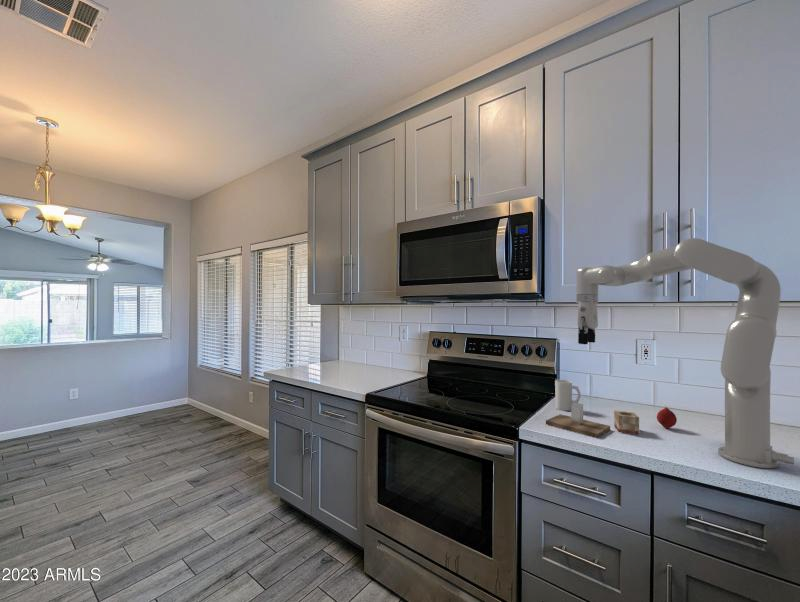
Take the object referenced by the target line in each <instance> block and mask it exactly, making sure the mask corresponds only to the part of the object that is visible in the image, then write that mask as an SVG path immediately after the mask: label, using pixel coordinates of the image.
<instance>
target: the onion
mask: <svg viewBox="0 0 800 602" xmlns="http://www.w3.org/2000/svg"><path fill="white" fill-rule="evenodd" d="M656 419H657V422H658V423H659V424H660V425H661V426H662V427H663V428H664V429H666V430H667V429H670V428H672V427H674V426H675V425H676V424H677V421H678V418H677V415H676V414H675V413H674V412H673V411H672V410H670V409H669V407H667V406H664V407H663V409H660V410H659V411H658V413H657V414H656Z"/></svg>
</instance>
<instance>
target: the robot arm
mask: <svg viewBox="0 0 800 602" xmlns="http://www.w3.org/2000/svg"><path fill="white" fill-rule="evenodd" d="M688 270H696V271H699V272H701V273H704V274H706V275H709V276H711V277H713V278H716V279H718V280H721V281H724V282H725V283H728V284H733V285H735V286H737V288H738V290H739V294H738V299H737V304H736V305H737V307H736V312H735V316H734V320H733V321H732V322H730V324H729V325H728V327H727V329H726V333H725V334H726V335H725V339H724V344H723V351H722V354H721V355H722V356H721V361H720V372H721V373H720V374H721V375H722V377H723V378H724V446H720V447H718V449H717V452H718V455H720V456H721V457H723V458H724V459H727V460H729V461H731V462H735V463H738V464H741V465H745V466H747V467H748V466H749V467H753V468H761V469H775V468H778V467H779V462H782V463H785V464H788V465H793V466H794V465H795V456H794V457H793V456H789V454H786V453H780V452H777V451H776V450H773V446H772V445H771V379H772V378H771V376H772V375H771V374H772V373H771V367H770V366H771V362H772V358H773V357H772V356H773V352H774V346H775V341H776V337H777V321H778V316H779V309H780V301H781V292H782V289H781V284H780V281H779V279H778V277H777V275H776V274H775V273H774V271H773V270H771V268H769V267H768V266H766V265H765V264H763V263H761V262H759V261H757V260H755V259H754V258H753V257H751V256H749V255H747V254H744V253H742V252H738V251H736V250H733V249H730V248H728V247H725V246H721V245H718V244H715V243H714V242H713V243H712V242H709V241H707V240H705V239H702V238H698V237H697V238H696V237H690V238H687V239H684V240H682V241H681V242H679V243H678V244H677V245H676V246H675V245H674V246H671V247H667V248H663V249H660V250H657V251H653V252H649V253H647V254H646V255H644V256H643V257H642V258H641V259H639V260H637V261H634V262H630V263H627V264H623V265H620V266H615V265H600V266H596V267H594V266H593V267H580V268H578V269H577V271H576V291H575V292H576V296H575V297H576V299H575V301H576V302H575V303H576V304H578V305H577V306H578V307H577V327H578V330H577V333H578V336H577V337H578V339H577V341H578V342H577V343H578V345H588V344H589V343H596V329H597V328H598V326H599V321H598V316H599V315H598V307H597V304H599V286H606V287H620V286H625V285H628V284H634V283H638V282H643V281H645V280H650V279H651V280H652V279H654V278H658V277H661V276H666V275H670V274H675V273H678V272H683V271H688Z"/></svg>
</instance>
